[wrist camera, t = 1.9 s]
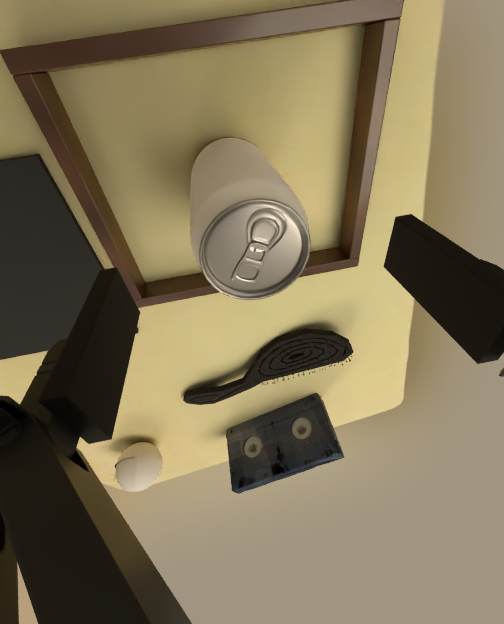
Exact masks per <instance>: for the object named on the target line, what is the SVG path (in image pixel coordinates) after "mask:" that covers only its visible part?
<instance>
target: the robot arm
mask: <svg viewBox="0 0 504 624" xmlns="http://www.w3.org/2000/svg"><path fill="white" fill-rule="evenodd" d="M384 267H385V268H386V269H387V271H388V272H389V273H390V274H391V275H392V276H393V277H394V278H395V279H396V280H397V281H398V282H399V283H400V284H401V285H402V286H403V287H404V288H405V289H406V290H407V291H408V292H409V293H410V294H411V295H412V296H413V297H414V298H415V300H416V301H417V302H418V303H419V304H420V305H421V306H422V307H423V308H424V309H425V310H426V311H427V312H428V313H429V314H430V315H431V316H432V317H433V318H434V319H435V320H436V321H437V322H438V323H439V324H440V325H441V326H442V327H443V329H445V331H446V332H447V333H448V334H449V335H450V336H451V337H452V338H453V339H454V340H455V341H456V342H457V343H458V344H459V345H460V346H461V347H462V348H463V349H464V350H465V351H466V352H467V353H468V354H469V355H470V357H472V359H473V360H474V361H475V362H476V363H477V364H480V363H485V362H490V361H495V360H498V359H499V358H500V356H501V355H502V354H503V353H504V270H503V269H502V268H500V267H498V266H497V265H494V264H492V263H489V262H487V261H484V260H481V259H480V260H479V259H478V258H476V257H475V256H473V255H472V254H470V253H469V252H467V251H466V250H464V249H463V248H461V247H460V246H458V245H457V244H455V243H454V242H452V241H451V240H449V239H448V238H446V237H445V236H443V235H442V234H440V233H439V232H437V231H436V230H434V229H433V228H431V227H430V226H428V225H427V224H425V223H424V222H422V221H421V220H419V219H418V218H416V217H415V216H413V215H412V214H410V215H404V216H399V217H396V218H395V222H394V226H393V230H392V234H391V238H390V242H389V247H388V251H387V255H386V259H385V263H384ZM139 315H140V311H139V309H138V307H137V305H136V303H135V301H134V299H133V298H132V296H131V294H130V292H129V290H128V288H127V286H126V284H125V282H124V280H123V278H122V276H121V274H120V272H119V271H118V269H117V267H116V268H110V269H105V270H100V271H99V273H98V275H97V277H96V279H95V282H94V284H93V286H92V288H91V290H90V292H89V294H88V296H87V298H86V301H85V303H84V305H83V307H82V309H81V311H80V313H79V315H78V317H77V320H76V322H75V324H74V326H73V328H72V330H71V332H70V334H69V336H68V338H67V339H62V340H58V341H57V342H56V344H55V345H54V346H53V347H52V348H51V349H50V350H49V351H48V352H47V354H46V356H45V358H44V360H43V362H42V366H40V367H39V369H38V371H37V375H36V376H35V377H34V379H33V381H32V383H31V385H30V387H29V389H28V390H27V392H26V394H25V396H24V398H23V400H22V402H21V404H18V403H17V402H16V401H14V400H13V399H12V398H10V397H9V396H0V624H19V615H18V577H17V576H18V574H17V562H18V565H19V568H20V571H21V574H22V577H23V579H24V583H25V586H26V589H27V591H28V594H29V597H30V600H31V603H32V606H33V609H34V612H35V615H36V618H37V621H38V624H192V623H191V622H190V620H189V618H188V617H187V615H186V614H185V612H184V611H183V609H182V608H181V606H180V604H179V603H178V601H177V600H176V598H175V597H174V595H173V594H172V592H171V591H170V589H169V587H168V586H167V585H166V583H165V581H164V580H163V578H162V577H161V575H160V573H159V572H158V570H157V569H156V567H155V566H154V564H153V563H152V561H151V559H150V558H149V557H148V555H147V553H146V552H145V550H144V549H143V547H142V545H141V544H140V543H139V541H138V539H137V538H136V536H135V535H134V533H133V532H132V530H131V529H130V527H129V525H128V524H127V522H126V521H125V519H124V518H123V516H122V514H121V513H120V511H119V510H118V508H117V507H116V505H115V504H114V502H113V501H112V499H111V497H110V496H109V494H108V493H107V491H106V490H105V488H104V487H103V485H102V483H101V482H100V480H99V479H98V477H97V476H96V474H95V473H94V471H93V469H92V468H91V466H90V465H89V463H88V462H87V460H86V459H85V457H84V455H83V454H82V452H81V451H80V450H78V449H77V448H76V447H77V444H78V441H79V437H81V438H82V439H84V440H85V441H86V442H87V443H89V444H91V443H95V442H100V441H105V440H110V439H112V435H113V431H114V426H115V422H116V417H117V413H118V408H119V404H120V399H121V395H122V391H123V386H124V382H125V377H126V373H127V368H128V364H129V359H130V355H131V351H132V346H133V342H134V337H135V333H136V328H137V324H138V319H139ZM499 376H502V377H503V376H504V368H503V369H502V370H501V372H500V374H499Z"/></svg>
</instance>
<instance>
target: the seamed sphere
mask: <svg viewBox="0 0 504 624" xmlns="http://www.w3.org/2000/svg"><path fill="white" fill-rule="evenodd" d="M115 468H116V478H115V479H117V482H118V483H119V485H120V486H121V487H122V488H123V489H125V490H127V491H130V492H140V491H143V490H145V489H147V488H149V487H150V486H151V485H152V484H153V483H154V482H155V481H156V480H157V478H158V477H159V475H160V472H161V468H162V456H161V454H160V452H159V450H158V448H156V447H155V446H154V445H153V444H151V443H147V442H140V443H135V444H133V445H131V446H129V447H128V448H127V449H125V450H124V452H123V453H122V454H121V456H120V457H119V458H118V461H117V464H116V465H115Z"/></svg>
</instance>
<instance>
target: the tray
mask: <svg viewBox="0 0 504 624" xmlns="http://www.w3.org/2000/svg"><path fill="white" fill-rule="evenodd" d="M403 2H404V0H342V1H335V2H328V3H321V4H314V5H307V6H300V7H294V8H287V9H280V10H273V11H266V12H259V13H252V14H245V15H239V16H232V17H225V18H218V19H211V20H204V21H197V22H190V23H183V24H177V25H170V26H163V27H156V28H149V29H142V30H135V31H128V32H122V33H115V34H108V35H101V36H94V37H87V38H80V39H73V40H66V41H60V42H53V43H46V44H39V45H32V46H25V47H18V48H11V49H5V50H0V54H1V56H2V58H3V59H4V61H5V63H6V65H7V67H8V69H9V71H10V73H11V74H12V75H14V76H13V78H14V80H15V82H16V84H17V85H18V87H19V89H20V91H21V93H22V95H23V97H24V99H25V100H26V102H27V104H28V106H29V108H30V110H31V112H32V114H33V115H34V117H35V119H36V121H37V123H38V125H39V127H40V129H41V131H42V132H43V134H44V136H45V138H46V140H47V142H48V144H49V146H50V147H51V149H52V151H53V153H54V155H55V157H56V159H57V161H58V162H59V164H60V166H61V168H62V170H63V172H64V174H65V176H66V178H67V179H68V181H69V183H70V185H71V187H72V189H73V191H74V193H75V194H76V196H77V198H78V200H79V202H80V204H81V206H82V208H83V209H84V211H85V213H86V215H87V217H88V219H89V221H90V223H91V224H92V226H93V228H94V230H95V232H96V234H97V236H98V238H99V240H100V241H101V243H102V245H103V247H104V249H105V251H106V253H107V255H108V256H109V258H110V260H111V262H112V264H113V266H114V268H116V267H117V269H118V271H119V272H120V274H121V276H122V278H123V280H124V282H125V284H126V286H127V288H128V290H129V292H130V294H131V296H132V298H133V299H134V301H135V303H136V305H137V307H138V308H140V307H145V306H150V305H155V304H161V303H166V302H171V301H176V300H182V299H187V298H192V297H197V296H203V295H208V294H213V293H219V292H220V291H218V290H217V289H216V288H214V287H213V286H212V285H211V284H210V283H209V281H208V280H207V279H206V277H205V275H204V273H198V274H192V275H187V276H181V277H176V278H171V279H165V280H160V281H155V282H149V283H145V281H144V279H143V277H142V275H141V273H140V271H139V268H138V266H137V264H136V262H135V260H134V258H133V256H132V253H131V251H130V249H129V247H128V245H127V243H126V240H125V238H124V236H123V234H122V232H121V230H120V227H119V225H118V223H117V221H116V219H115V217H114V215H113V212H112V210H111V208H110V206H109V204H108V202H107V199H106V197H105V195H104V193H103V191H102V189H101V186H100V184H99V182H98V180H97V178H96V176H95V174H94V171H93V169H92V167H91V165H90V163H89V161H88V158H87V156H86V154H85V152H84V150H83V148H82V145H81V143H80V141H79V139H78V137H77V135H76V132H75V130H74V128H73V126H72V124H71V122H70V120H69V117H68V115H67V113H66V111H65V109H64V107H63V104H62V102H61V100H60V98H59V96H58V94H57V91H56V89H55V87H54V85H53V83H52V81H51V79H50V76H49V74H48V73H47V72H52V71H59V70H65V69H72V68H79V67H85V66H92V65H99V64H105V63H112V62H119V61H125V60H132V59H139V58H145V57H152V56H159V55H165V54H172V53H179V52H185V51H192V50H199V49H205V48H212V47H219V46H225V45H232V44H239V43H245V42H252V41H259V40H265V39H272V38H279V37H285V36H292V35H299V34H305V33H312V32H319V31H325V30H332V29H339V28H345V27H352V26H359V25H365V24H366V25H365V30H364V39H363V48H362V56H361V65H360V74H359V83H358V91H357V100H356V109H355V118H354V126H353V135H352V144H351V152H350V161H349V170H348V179H347V187H346V196H345V205H344V213H343V222H342V231H341V240H340V247H337V248H332V249H326V250H321V251H316V252H310V254H309V258H308V261H307V263H306V266H305V268H304V269H303V271H302V273H301V274H300V275H299V277H303V276H308V275H313V274H319V273H324V272H329V271H334V270H340V269H345V268H350V267H355V266H358V262H359V255H360V250H361V244H362V238H363V232H364V227H365V221H366V215H367V209H368V203H369V198H370V192H371V186H372V180H373V174H374V169H375V163H376V157H377V151H378V146H379V140H380V134H381V128H382V122H383V117H384V111H385V105H386V99H387V94H388V88H389V82H390V76H391V70H392V65H393V59H394V53H395V47H396V42H397V36H398V30H399V24H400V17H401V14H402V8H403Z"/></svg>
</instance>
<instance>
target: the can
mask: <svg viewBox="0 0 504 624" xmlns="http://www.w3.org/2000/svg"><path fill="white" fill-rule="evenodd" d="M190 236H191V246H192V250H193V254H194V257H195V259H196V261H197V263H198V265H199V266H200V268H201V269H202V271H203V273H204V275H205V277H206V279H207V280H208V281H209V283H210V284H211V285H212V286H213V287H214V288H216V289H217V290H218V291H220V292H221V293H223V294H225V295H227V296H230V297H233V298H237V299H243V300H256V299H262V298H266V297H270V296H272V295H275V294H277V293H279V292H281V291H283V290H284V289H286V288H287V287H288V286H290V285H291V284H292V283H293V282H294V281H295V280H296V279H297V278H298V277H299V275H300V274H301V273H302V271H303V269H304V268H305V266H306V263H307V261H308V258H309V254H310V235H309V228H308V220H307V216H306V213H305V210H304V208H303V206H302V204H301V202H300V201H299V199H298V198H297V196H296V195H295V193H294V192H293V191H292V190H291V188H290V187H289V186H288V184H287V183H286V182H285V181H284V179H283V178H282V177H281V176H280V174H279V173H278V172H277V171H276V169H275V168H274V167H273V166H272V164H271V163H270V162H269V161H268V160H267V158H266V157H265V156H264V155H263V153H262V152H261V151H260V150H259V149H258V148H257V147H256V146H255V145H253V144H252V143H250V142H248V141H245V140H242V139H238V138H222V139H219V140H216V141H214V142H212V143H210V144H209V145H208V146H206V147H205V148H204V149H203V150H202V151H201V152H200V154H199V155H198V157H197V159H196V161H195V163H194V165H193V169H192V174H191V195H190Z"/></svg>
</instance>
